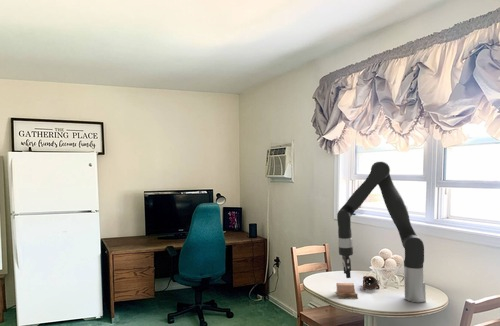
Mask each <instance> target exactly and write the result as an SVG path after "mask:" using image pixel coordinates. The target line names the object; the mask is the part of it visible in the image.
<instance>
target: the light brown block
mask: <svg viewBox="0 0 500 326" xmlns="http://www.w3.org/2000/svg"><path fill="white" fill-rule="evenodd" d="M354 289H355V285H354V283H351V282H336V294H337V295H338V294H339V293H349V294H354Z"/></svg>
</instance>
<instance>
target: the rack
mask: <svg viewBox="0 0 500 326" xmlns="http://www.w3.org/2000/svg"><path fill="white" fill-rule="evenodd" d="M337 297H338V299H346V300H347V299H348V300H349V299H352V300H357V299H359V297H358V293H356V289H355V288H354V294H349V293H339V294H337Z"/></svg>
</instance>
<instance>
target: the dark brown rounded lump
mask: <svg viewBox="0 0 500 326" xmlns="http://www.w3.org/2000/svg"><path fill="white" fill-rule="evenodd" d="M362 279H363V280H362V288H363V289H362V290H364V291H366V290H372V289H374V288H378V289H380V285H379V284H380V283H379V281H378V279H376V277H375V276H372V275H368V276H367V275H364V276H363V277H362Z"/></svg>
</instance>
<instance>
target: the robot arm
mask: <svg viewBox="0 0 500 326" xmlns="http://www.w3.org/2000/svg"><path fill="white" fill-rule="evenodd" d="M390 173H391V168H390V165H389V164H388V163H387V162H384V161H376V162H374V163H373V164H372V166H371V167H370V172H369V174H368V176H367V177H366V178H365V180H363V183H361V184H360V185H359V186H358V188H356V189H355V191H354V192H353V193H352V194H351V196H350V197H349V198H348V199H347V201H346V202H345V203H344V205H342V207H341V208H340V209H339V210H338V212H337V214H336V216H337V217H336V218H337V219H336V220H337V227H338V229H337V233H338V237H337V238H338V242H337V245H338V255H339V256H342V258H341V259H342V261H341V262H342V263H341V264H342V266H343V274H344V275H345V277H346V279H350V278H351V276H352V275H351V271H352V264H351V258H350V256H353V254H354V248H353V247H354V245H353V243H354V242H353V239H352V237H353V236H352V235H353V234H352V228H351V226H352V225H351V217H352V216H353V215H354V213H355V212H356V211H358V210H359V208H360V207H361V206H362V205H363V204H364V202H365V201H366V200H367V198H368V197H369V195H370V194H371V193H372V192H373V191H374V189H375V188H376V187H377V186H378V188H379V189H380V192H381V196H382V199H383V201H384V205H385V208H386V209H387V211H388V213H389V216H390V218H391V220H392V222H393V223H394V225H395V227H396V229H397V231H398V234H399V238H400V241H401V244H402V247H403V248H404V259H403V275H404V276H403V277H404V278H403V280H404V299H405V300H406V301H409V302H412V303H423V302H426V301H427V300H426V299H427V298H426V292H427V291H426V282H425V281H424V279H425V278H424V277H425V276H424V275H425V274H424V263H425V245H424V241H423V240H422V239H421V238H419V236H418V235H417V233H416V231H415V230H414V228H413V226H412V223H411V220H410V215H409V211H408V208H407V205H406V204H405V201H404V199H403V197H402V195H401V194H400V192H399V190H398V188H396V186H395V185H394V182H393V179H392V176H391V174H390Z"/></svg>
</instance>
